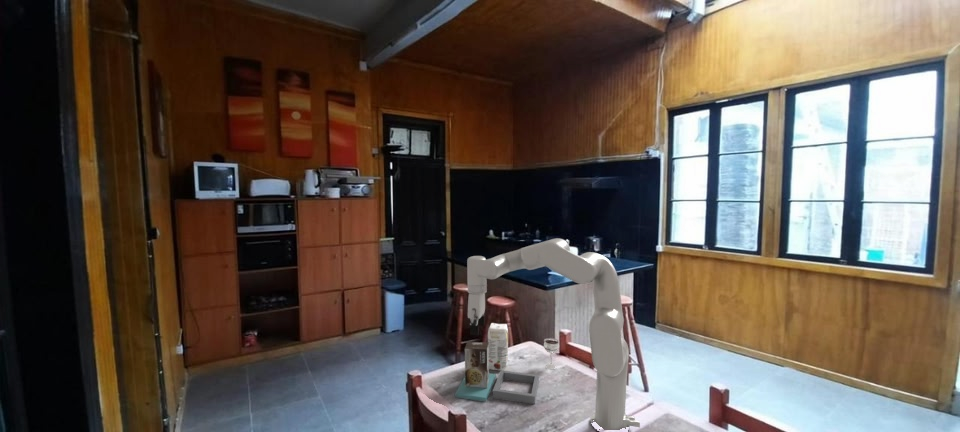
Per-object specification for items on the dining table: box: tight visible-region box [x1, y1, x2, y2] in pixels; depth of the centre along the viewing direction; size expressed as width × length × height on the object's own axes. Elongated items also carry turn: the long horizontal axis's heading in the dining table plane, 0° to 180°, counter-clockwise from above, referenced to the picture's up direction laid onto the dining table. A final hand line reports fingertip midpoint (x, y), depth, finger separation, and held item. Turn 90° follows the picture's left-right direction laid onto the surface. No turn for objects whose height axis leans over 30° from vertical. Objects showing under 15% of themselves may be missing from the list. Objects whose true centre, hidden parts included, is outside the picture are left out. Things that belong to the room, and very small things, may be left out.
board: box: [454, 372, 497, 402], centre depth 154 cm, size 12×18×2 cm, turn 166°
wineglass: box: [543, 337, 560, 370], centre depth 170 cm, size 7×7×12 cm
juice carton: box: [487, 322, 509, 372], centre depth 169 cm, size 8×9×19 cm
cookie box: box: [464, 341, 490, 388], centre depth 153 cm, size 9×6×16 cm
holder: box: [492, 370, 540, 405], centre depth 152 cm, size 16×16×3 cm
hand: (477, 330), depth 152 cm, fingers open, 9 cm apart
